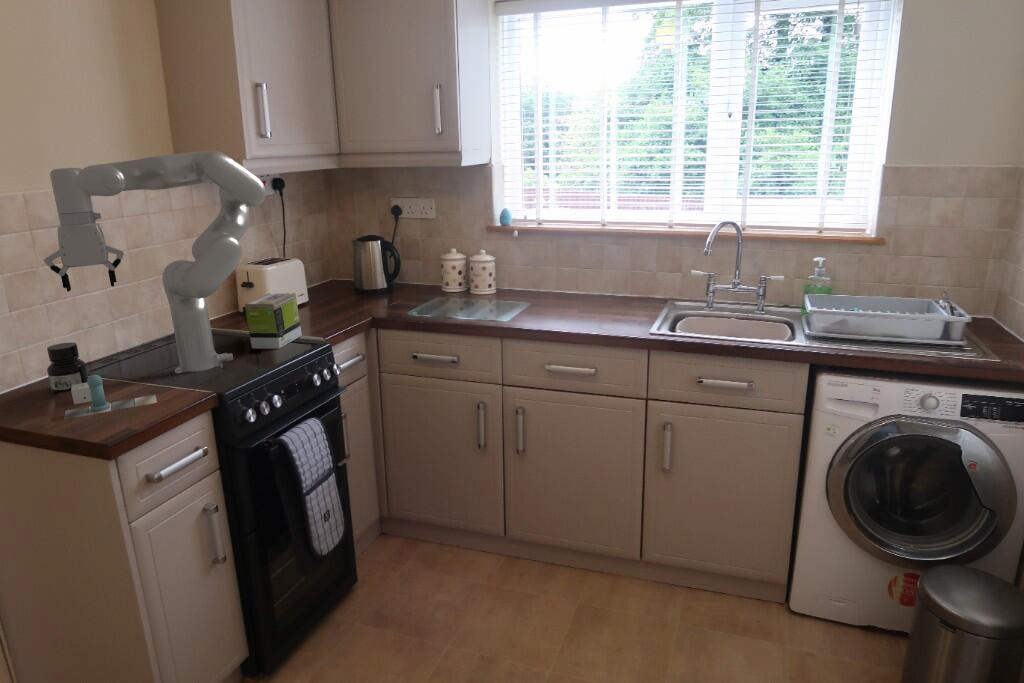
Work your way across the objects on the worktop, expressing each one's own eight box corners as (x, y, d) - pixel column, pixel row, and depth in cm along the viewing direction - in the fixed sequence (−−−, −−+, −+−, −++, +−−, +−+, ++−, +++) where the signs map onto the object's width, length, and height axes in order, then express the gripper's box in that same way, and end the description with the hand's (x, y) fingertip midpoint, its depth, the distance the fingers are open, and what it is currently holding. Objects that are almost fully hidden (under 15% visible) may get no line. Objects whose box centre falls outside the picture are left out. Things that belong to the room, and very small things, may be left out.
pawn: (109, 404, 179) (103, 371, 176) (109, 409, 175) (102, 375, 173) (91, 407, 177) (84, 374, 175) (90, 412, 174) (83, 378, 171)
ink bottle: (43, 394, 192) (33, 351, 189) (62, 383, 201) (53, 342, 197) (79, 393, 192) (70, 350, 189) (97, 382, 201) (89, 340, 197)
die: (97, 399, 187) (93, 380, 186) (98, 405, 183) (94, 386, 181) (75, 403, 185) (70, 384, 183) (74, 409, 180) (70, 390, 179)
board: (156, 399, 185) (155, 394, 185) (158, 407, 179) (157, 402, 179) (66, 415, 176) (65, 410, 176) (64, 424, 170) (63, 419, 170)
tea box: (274, 335, 242) (269, 292, 237) (302, 336, 239) (297, 292, 235) (250, 348, 227) (243, 302, 223) (279, 349, 225) (273, 303, 221)
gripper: (116, 215, 185) (129, 281, 190) (37, 221, 177) (52, 290, 182) (116, 217, 179) (129, 286, 183) (34, 224, 171) (50, 295, 176)
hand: (91, 288), depth 183 cm, fingers open, 9 cm apart
